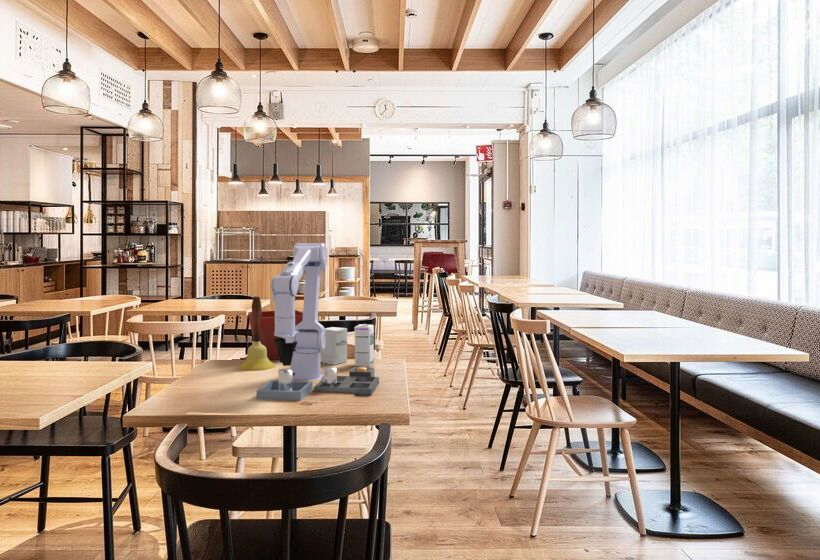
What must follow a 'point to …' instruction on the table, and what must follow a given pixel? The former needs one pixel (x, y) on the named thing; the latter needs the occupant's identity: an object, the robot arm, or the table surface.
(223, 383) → the table surface
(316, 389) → the frame
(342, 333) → the supplement box
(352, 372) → the button housing
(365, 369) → the button
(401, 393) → the table surface
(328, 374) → the cylinder
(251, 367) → the handbell
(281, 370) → the billet
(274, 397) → the tote
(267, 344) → the plant pot
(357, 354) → the syrup box
